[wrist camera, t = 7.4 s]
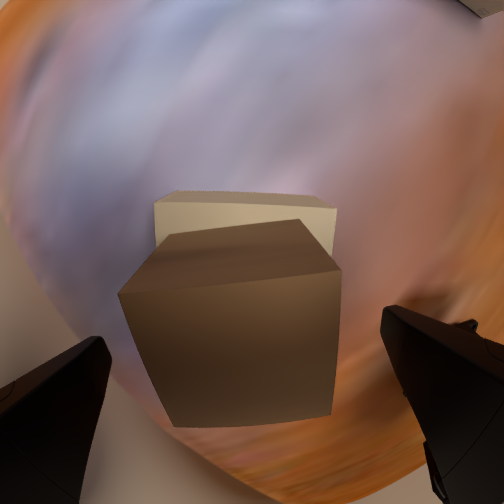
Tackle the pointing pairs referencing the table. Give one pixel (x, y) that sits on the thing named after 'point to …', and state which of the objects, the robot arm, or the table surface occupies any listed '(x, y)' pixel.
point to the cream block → (241, 212)
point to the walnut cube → (238, 324)
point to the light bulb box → (484, 6)
